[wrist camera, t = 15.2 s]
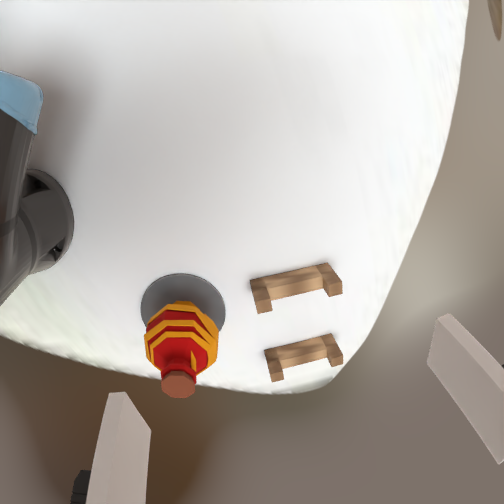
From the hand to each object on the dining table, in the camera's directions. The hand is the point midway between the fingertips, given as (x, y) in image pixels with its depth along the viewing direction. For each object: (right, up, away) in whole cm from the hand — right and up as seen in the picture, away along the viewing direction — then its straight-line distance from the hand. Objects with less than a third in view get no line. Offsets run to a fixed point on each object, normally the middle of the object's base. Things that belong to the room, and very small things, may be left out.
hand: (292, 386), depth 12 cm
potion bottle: (-12, -4, +35) cm, 37 cm away
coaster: (-12, -4, +36) cm, 38 cm away
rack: (+5, -5, +39) cm, 39 cm away
